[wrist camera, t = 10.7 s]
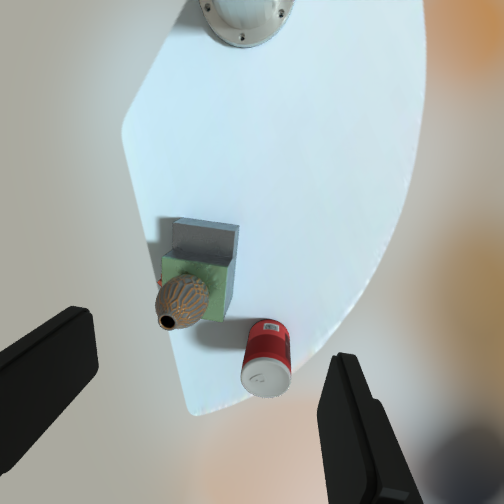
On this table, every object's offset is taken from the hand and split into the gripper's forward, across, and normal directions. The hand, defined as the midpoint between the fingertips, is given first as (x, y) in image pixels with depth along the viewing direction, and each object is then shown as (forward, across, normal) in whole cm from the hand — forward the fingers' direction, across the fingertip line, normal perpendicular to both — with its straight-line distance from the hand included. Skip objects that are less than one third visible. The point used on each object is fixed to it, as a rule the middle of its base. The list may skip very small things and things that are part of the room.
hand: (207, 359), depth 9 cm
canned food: (+34, -4, +24) cm, 41 cm away
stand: (+33, +9, +10) cm, 36 cm away
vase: (+26, +9, +12) cm, 30 cm away
